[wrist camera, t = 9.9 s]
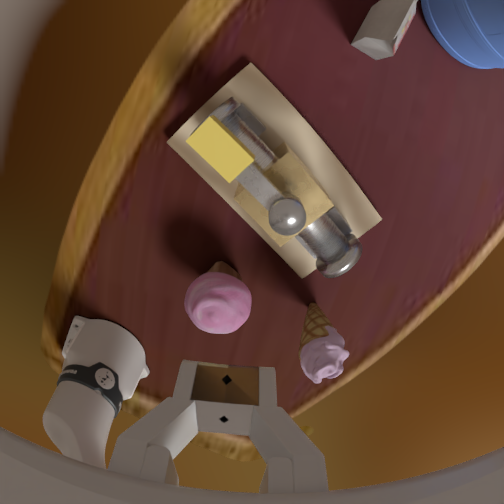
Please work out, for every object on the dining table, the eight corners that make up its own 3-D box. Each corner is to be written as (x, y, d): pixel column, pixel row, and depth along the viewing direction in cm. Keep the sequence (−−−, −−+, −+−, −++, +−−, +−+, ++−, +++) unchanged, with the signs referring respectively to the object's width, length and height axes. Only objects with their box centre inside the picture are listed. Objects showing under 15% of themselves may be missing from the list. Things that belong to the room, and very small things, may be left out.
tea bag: (350, 44, 30) (377, 30, 21) (371, 6, 27) (402, -15, 18) (375, 60, 31) (409, 52, 22) (396, 22, 28) (432, 6, 19)
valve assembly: (301, 273, 46) (310, 328, 35) (169, 140, 37) (133, 160, 27) (378, 215, 41) (412, 258, 30) (251, 63, 32) (245, 49, 22)
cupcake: (214, 239, 44) (201, 278, 35) (265, 270, 46) (264, 314, 37) (184, 282, 47) (168, 325, 38) (232, 309, 49) (225, 355, 40)
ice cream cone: (301, 283, 46) (313, 358, 33) (339, 291, 47) (361, 363, 34) (289, 317, 50) (295, 392, 36) (325, 323, 50) (339, 395, 37)
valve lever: (310, 211, 28) (314, 219, 26) (284, 233, 29) (285, 242, 27) (215, 113, 24) (211, 114, 22) (189, 139, 25) (183, 143, 24)
